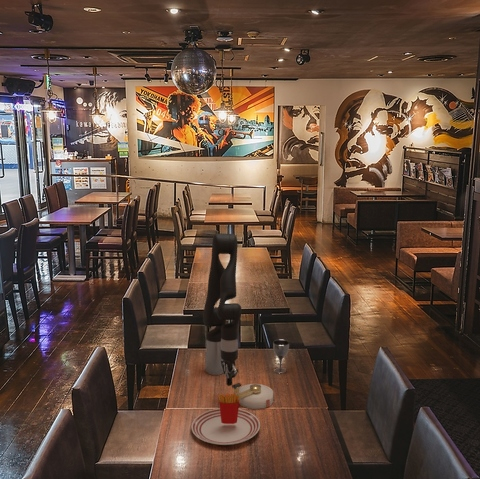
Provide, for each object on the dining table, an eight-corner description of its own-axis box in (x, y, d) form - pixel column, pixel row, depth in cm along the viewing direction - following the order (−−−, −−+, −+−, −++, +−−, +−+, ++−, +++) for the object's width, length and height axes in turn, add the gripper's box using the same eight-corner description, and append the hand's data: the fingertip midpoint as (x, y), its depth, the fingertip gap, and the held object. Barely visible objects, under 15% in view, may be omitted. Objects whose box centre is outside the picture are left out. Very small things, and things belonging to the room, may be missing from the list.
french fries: (239, 418, 218) (239, 391, 216) (239, 424, 214) (239, 396, 212) (218, 418, 218) (218, 391, 216) (217, 423, 214) (218, 396, 212)
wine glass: (269, 368, 273) (270, 340, 270) (283, 366, 276) (284, 338, 273) (277, 374, 266) (278, 346, 263) (291, 372, 269) (292, 343, 266)
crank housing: (230, 399, 241) (230, 390, 240) (256, 388, 251) (256, 380, 250) (254, 413, 228) (254, 404, 228) (281, 401, 239) (281, 393, 238)
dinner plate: (198, 455, 198) (198, 447, 198) (186, 418, 224) (186, 411, 224) (269, 445, 206) (269, 437, 205) (248, 410, 232) (249, 403, 231)
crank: (255, 387, 242) (255, 374, 241) (263, 391, 239) (263, 377, 238) (229, 398, 232) (229, 383, 231) (236, 402, 229) (236, 387, 228)
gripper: (244, 351, 230) (243, 389, 233) (230, 341, 242) (230, 377, 245) (228, 354, 227) (228, 392, 230) (215, 344, 238) (215, 380, 241)
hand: (229, 385), depth 237 cm, fingers closed
